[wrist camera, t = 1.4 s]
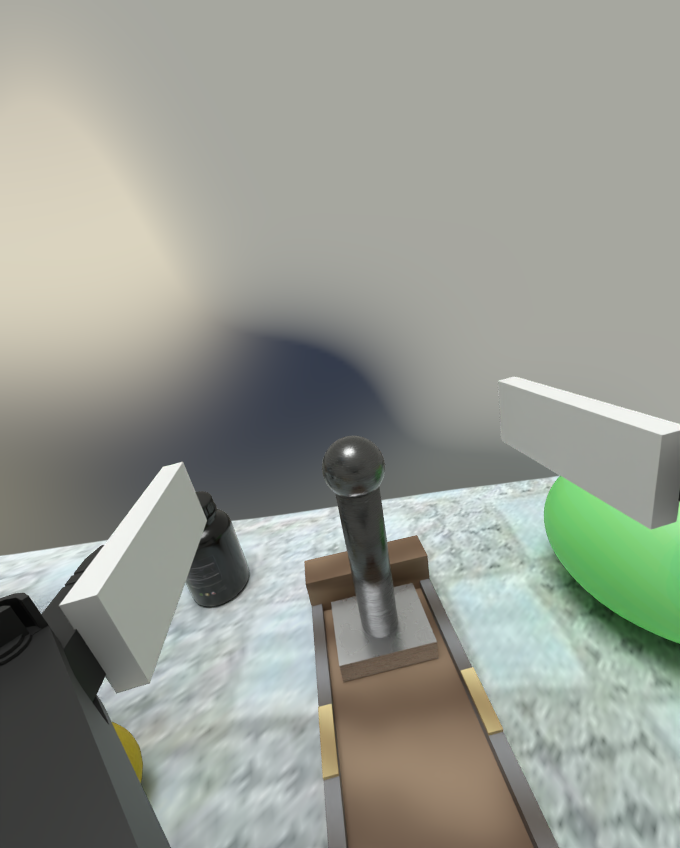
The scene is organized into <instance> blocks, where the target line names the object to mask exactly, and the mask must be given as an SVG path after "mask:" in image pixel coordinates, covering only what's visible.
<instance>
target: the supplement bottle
mask: <svg viewBox="0 0 680 848" xmlns="http://www.w3.org/2000/svg"><path fill="white" fill-rule="evenodd" d="M196 495H197V497H198V500H199V502H200V505H201V507H202V509H203V512H204V514H205V517H206V519H207V522H206V525H205V528H204V531H203V533H202V536H201V539H200V542H199V545H198V548H197V550H196V553H195V556H194V559H193V562H192V565H191V567H190V570H189V573H188V576H187V579H186V582H185V583H186V585H187V587H188V589H189V591H190V593H191V595H192V597H193V598H194V600H195V601H196V602H197V603H198V604H200V605H202V606H210V607H211V606H217V605H221V604H223V603H226V602H228V601H229V600H231V599H232V598H234V597H235V596H236V595H237V594H239V592H240V591H241V590H242V589H243V588H244V586H245V584H246V582H247V580H248V577H249V569H248V565H247V563H246V560H245V557H244V554H243V552H242V549H241V546H240V544H239V541H238V538H237V535H236V533H235V530H234V527H233V525H232V522H231V520H230V518H229V516H228V515H227V514H226V513H225V512H224V511H222V510H219V509H217V507H216V505H215V503H214V502H213V499H212V496H211V495H210V494H209V493H208V492H203V491H201V492H200V491H199V492H196Z"/></svg>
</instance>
